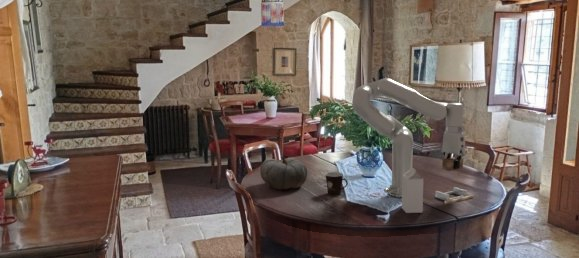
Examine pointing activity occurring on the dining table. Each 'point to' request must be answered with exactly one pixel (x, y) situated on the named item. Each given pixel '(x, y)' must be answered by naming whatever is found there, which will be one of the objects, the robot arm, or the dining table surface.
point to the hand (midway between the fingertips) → (452, 167)
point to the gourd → (283, 173)
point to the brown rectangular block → (450, 164)
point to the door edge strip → (458, 199)
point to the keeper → (455, 191)
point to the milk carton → (412, 192)
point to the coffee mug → (334, 183)
